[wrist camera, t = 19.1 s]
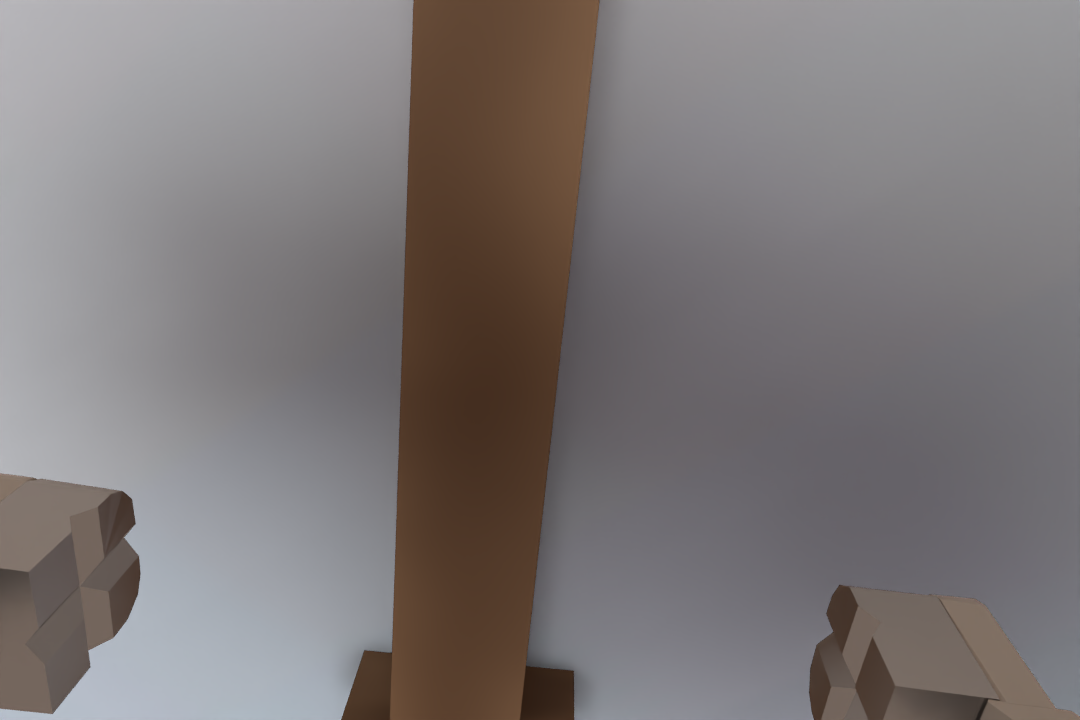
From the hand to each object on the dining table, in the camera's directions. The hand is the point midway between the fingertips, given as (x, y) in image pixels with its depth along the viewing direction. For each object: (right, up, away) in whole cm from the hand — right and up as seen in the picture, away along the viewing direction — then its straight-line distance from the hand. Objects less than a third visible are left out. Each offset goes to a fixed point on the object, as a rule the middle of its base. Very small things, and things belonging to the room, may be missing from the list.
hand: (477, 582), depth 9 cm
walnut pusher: (0, +3, +10) cm, 11 cm away
